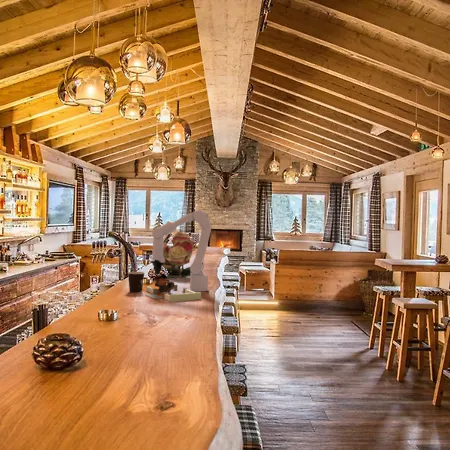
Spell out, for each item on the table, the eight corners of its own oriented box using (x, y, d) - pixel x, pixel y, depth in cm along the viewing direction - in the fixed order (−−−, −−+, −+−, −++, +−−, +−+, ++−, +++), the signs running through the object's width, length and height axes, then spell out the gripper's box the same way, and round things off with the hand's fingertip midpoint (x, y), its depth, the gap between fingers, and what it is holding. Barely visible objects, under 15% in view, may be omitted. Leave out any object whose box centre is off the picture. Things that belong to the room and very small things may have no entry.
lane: (178, 288, 248) (178, 282, 248) (205, 298, 222) (205, 292, 221) (137, 291, 236) (137, 285, 236) (161, 302, 209) (161, 295, 209)
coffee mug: (135, 293, 230) (135, 274, 229) (124, 291, 235) (124, 272, 234) (151, 290, 239) (152, 272, 238) (140, 288, 244) (141, 270, 244)
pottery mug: (150, 294, 232) (151, 279, 236) (159, 299, 240) (160, 285, 244) (170, 290, 228) (171, 275, 232) (179, 295, 236) (179, 281, 240)
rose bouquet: (151, 273, 305) (152, 230, 304) (193, 273, 314) (194, 230, 313) (157, 279, 280) (158, 231, 280) (202, 278, 289) (203, 232, 288)
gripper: (146, 248, 250) (145, 272, 250) (156, 251, 237) (155, 276, 238) (158, 248, 253) (157, 272, 254) (168, 250, 241) (167, 275, 241)
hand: (157, 274), depth 246 cm, fingers closed
